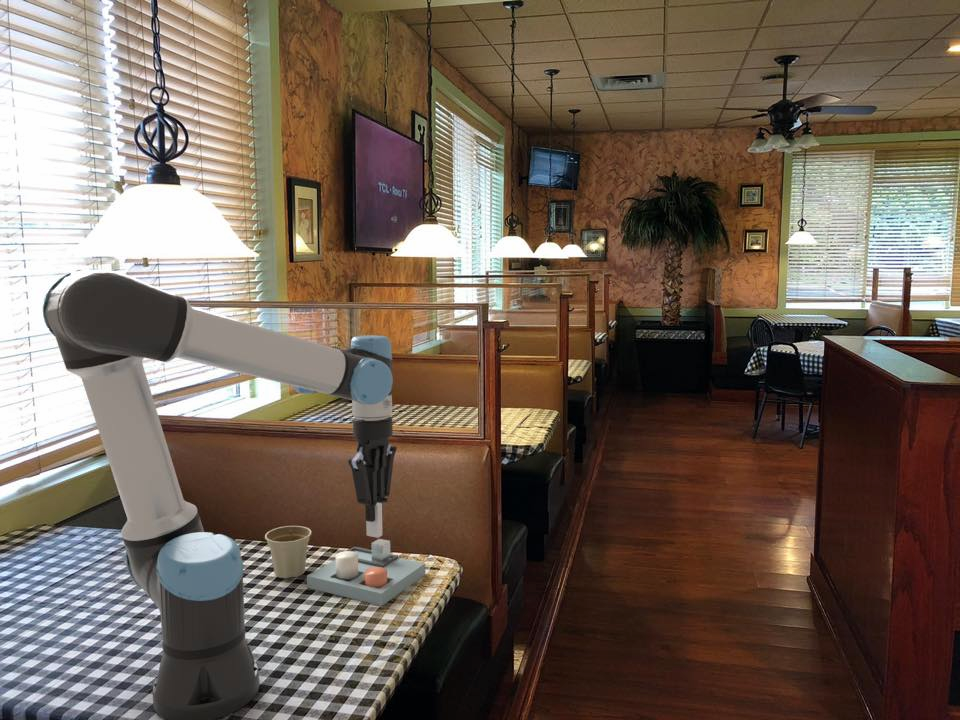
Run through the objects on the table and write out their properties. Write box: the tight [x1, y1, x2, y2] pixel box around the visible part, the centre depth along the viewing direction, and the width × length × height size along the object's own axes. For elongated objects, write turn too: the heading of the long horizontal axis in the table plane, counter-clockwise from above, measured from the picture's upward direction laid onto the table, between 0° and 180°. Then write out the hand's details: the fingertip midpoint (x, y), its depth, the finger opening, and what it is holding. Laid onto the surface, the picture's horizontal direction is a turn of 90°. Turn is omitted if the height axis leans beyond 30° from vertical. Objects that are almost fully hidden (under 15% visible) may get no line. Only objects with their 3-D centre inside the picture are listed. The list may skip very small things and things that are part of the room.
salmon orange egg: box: [365, 567, 387, 589], centre depth 146 cm, size 4×4×4 cm
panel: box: [306, 546, 426, 607], centre depth 152 cm, size 16×18×3 cm
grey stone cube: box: [370, 538, 391, 564], centre depth 156 cm, size 3×3×4 cm
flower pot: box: [264, 525, 312, 579], centre depth 156 cm, size 9×9×9 cm
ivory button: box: [335, 550, 358, 579], centre depth 149 cm, size 4×4×4 cm
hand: (374, 535), depth 145 cm, fingers closed
